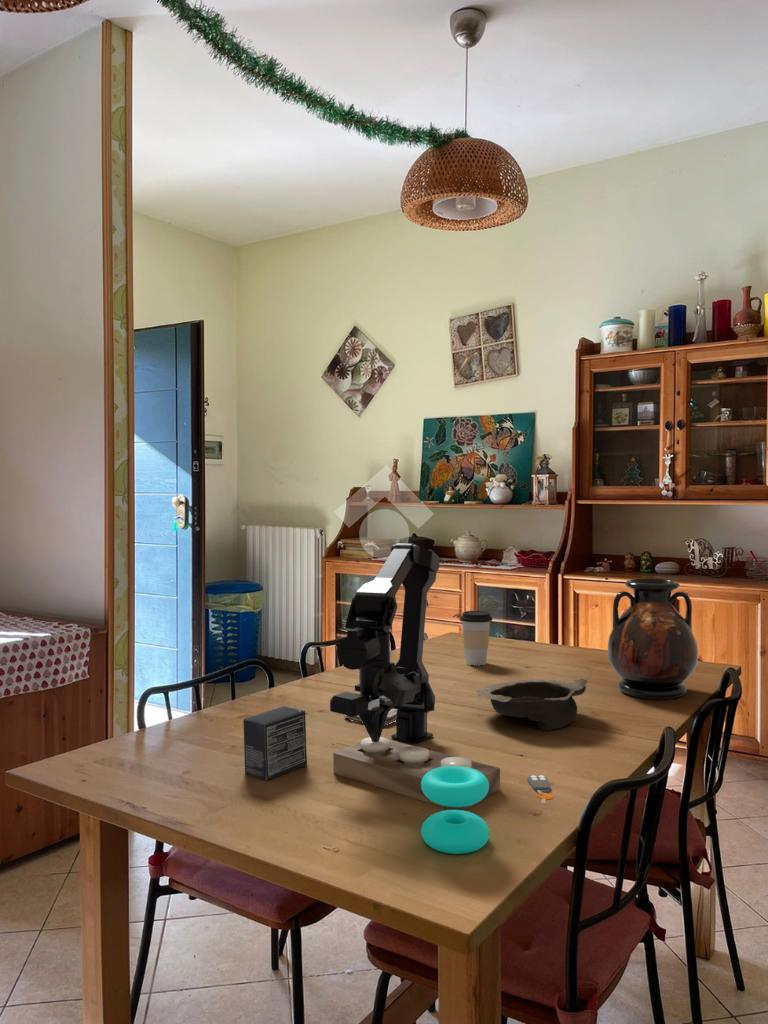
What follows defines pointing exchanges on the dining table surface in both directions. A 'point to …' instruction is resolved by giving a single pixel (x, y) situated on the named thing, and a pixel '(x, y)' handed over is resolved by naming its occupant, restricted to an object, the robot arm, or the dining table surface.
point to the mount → (400, 771)
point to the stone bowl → (537, 700)
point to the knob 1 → (375, 746)
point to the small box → (275, 742)
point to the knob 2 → (456, 762)
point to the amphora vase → (652, 641)
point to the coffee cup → (476, 636)
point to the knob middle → (414, 755)
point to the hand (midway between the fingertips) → (375, 741)
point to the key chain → (540, 786)
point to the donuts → (455, 826)
